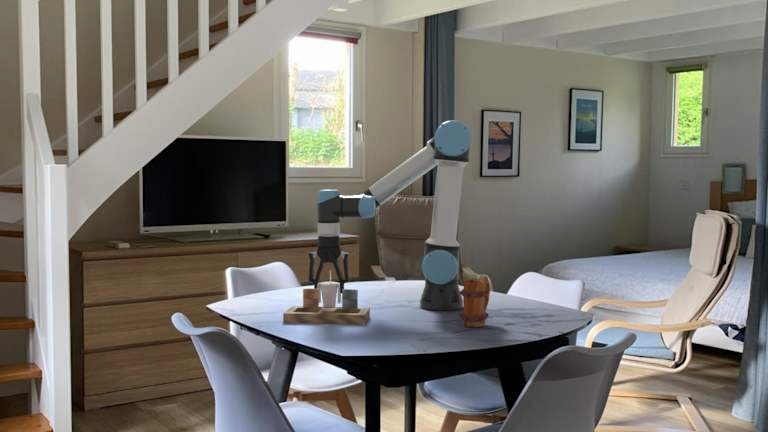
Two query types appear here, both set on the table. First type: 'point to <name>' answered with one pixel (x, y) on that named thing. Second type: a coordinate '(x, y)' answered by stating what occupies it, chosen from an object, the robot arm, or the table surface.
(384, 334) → the table surface
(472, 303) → the mug
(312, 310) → the socket board
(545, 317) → the table surface
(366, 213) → the robot arm
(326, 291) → the smoothie
